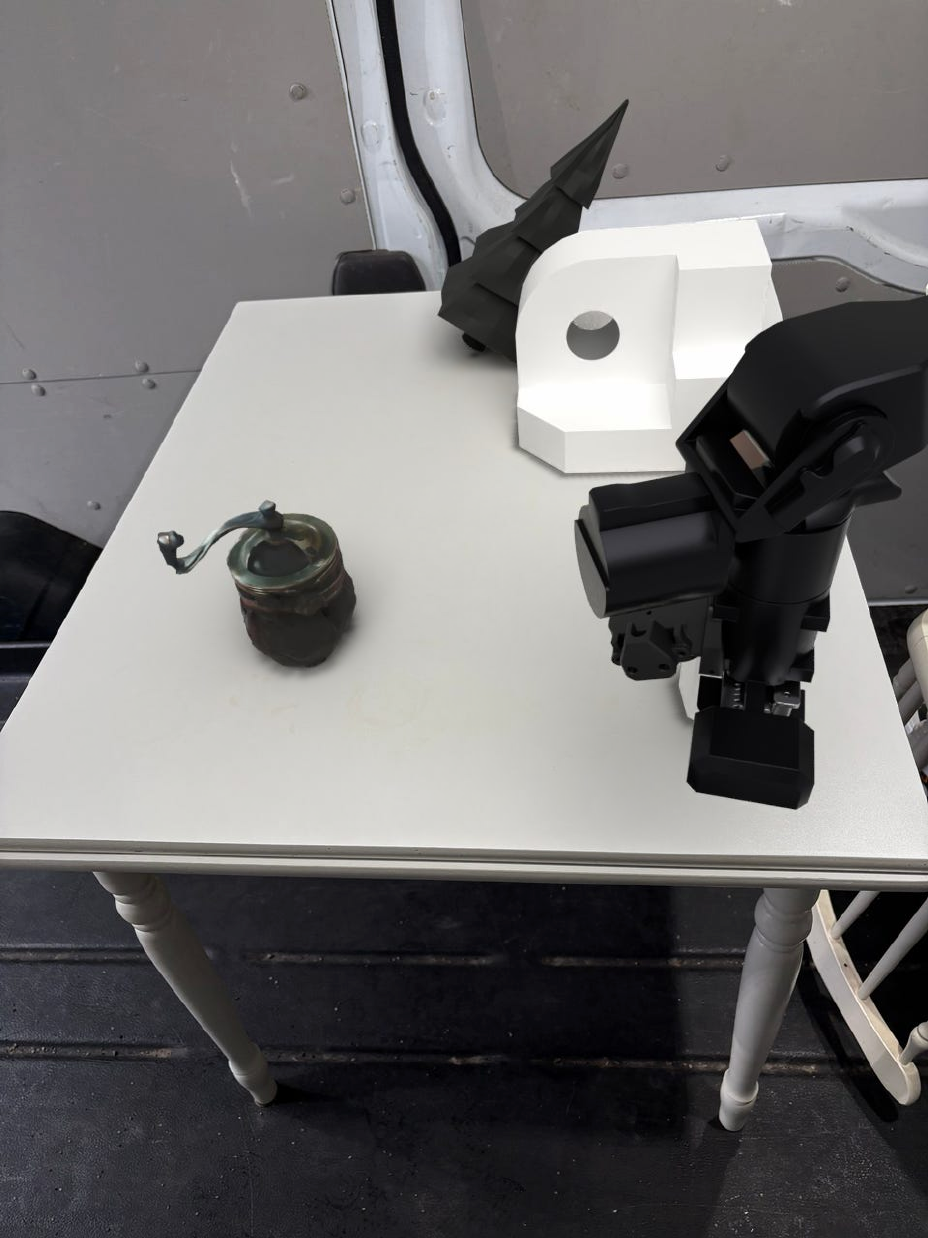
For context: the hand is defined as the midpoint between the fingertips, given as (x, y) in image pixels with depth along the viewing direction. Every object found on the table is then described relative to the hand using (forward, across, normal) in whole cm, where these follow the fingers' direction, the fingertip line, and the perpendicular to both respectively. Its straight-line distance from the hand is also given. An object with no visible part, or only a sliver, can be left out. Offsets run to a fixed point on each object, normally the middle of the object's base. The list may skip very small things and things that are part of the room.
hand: (737, 740), depth 55 cm
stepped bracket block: (+11, -52, -14) cm, 55 cm away
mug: (+11, -11, 0) cm, 16 cm away
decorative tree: (+11, -71, -30) cm, 78 cm away
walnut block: (+11, -41, 0) cm, 42 cm away
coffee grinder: (+11, -11, -40) cm, 43 cm away
